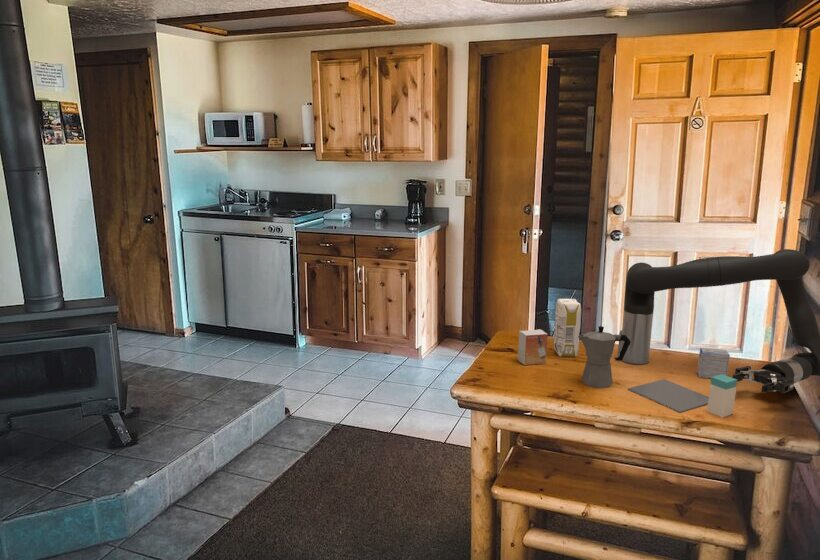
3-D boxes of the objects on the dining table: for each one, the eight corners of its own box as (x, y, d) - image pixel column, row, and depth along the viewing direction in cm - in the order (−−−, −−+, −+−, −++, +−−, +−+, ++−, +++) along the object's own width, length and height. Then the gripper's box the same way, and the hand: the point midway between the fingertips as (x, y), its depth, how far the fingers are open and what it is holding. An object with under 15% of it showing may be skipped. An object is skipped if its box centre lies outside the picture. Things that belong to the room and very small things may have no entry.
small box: (524, 365, 199) (525, 335, 197) (517, 360, 204) (518, 330, 202) (546, 363, 201) (548, 333, 199) (539, 358, 206) (540, 328, 204)
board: (627, 389, 180) (627, 388, 180) (664, 380, 187) (664, 378, 187) (679, 412, 165) (680, 411, 164) (717, 401, 172) (717, 400, 172)
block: (707, 411, 166) (711, 377, 164) (717, 407, 168) (721, 374, 166) (722, 417, 162) (726, 382, 160) (732, 414, 164) (737, 379, 162)
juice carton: (557, 357, 207) (561, 304, 203) (551, 349, 215) (555, 297, 211) (579, 357, 207) (583, 304, 203) (572, 349, 215) (576, 297, 211)
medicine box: (723, 375, 192) (726, 349, 190) (726, 380, 188) (730, 354, 186) (696, 372, 194) (699, 347, 192) (699, 377, 190) (702, 351, 188)
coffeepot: (576, 387, 182) (581, 330, 178) (572, 375, 191) (576, 320, 187) (629, 390, 180) (635, 332, 176) (623, 378, 189) (628, 323, 185)
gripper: (759, 354, 182) (726, 363, 174) (809, 369, 170) (775, 379, 162) (756, 377, 183) (723, 387, 176) (805, 394, 171) (771, 405, 164)
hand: (748, 383), depth 169 cm, fingers open, 8 cm apart
